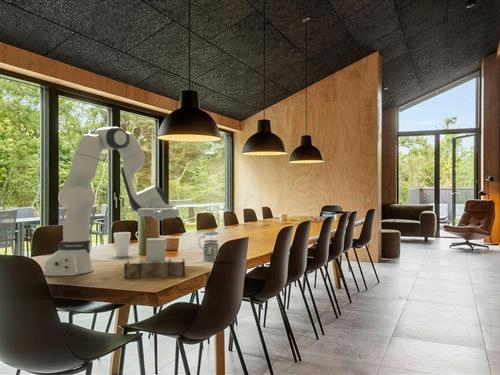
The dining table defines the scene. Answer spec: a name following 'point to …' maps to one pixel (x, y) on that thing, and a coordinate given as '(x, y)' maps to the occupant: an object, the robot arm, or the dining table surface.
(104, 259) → the dining table surface
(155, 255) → the skincare box
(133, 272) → the box
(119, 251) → the foam cup
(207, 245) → the french press
